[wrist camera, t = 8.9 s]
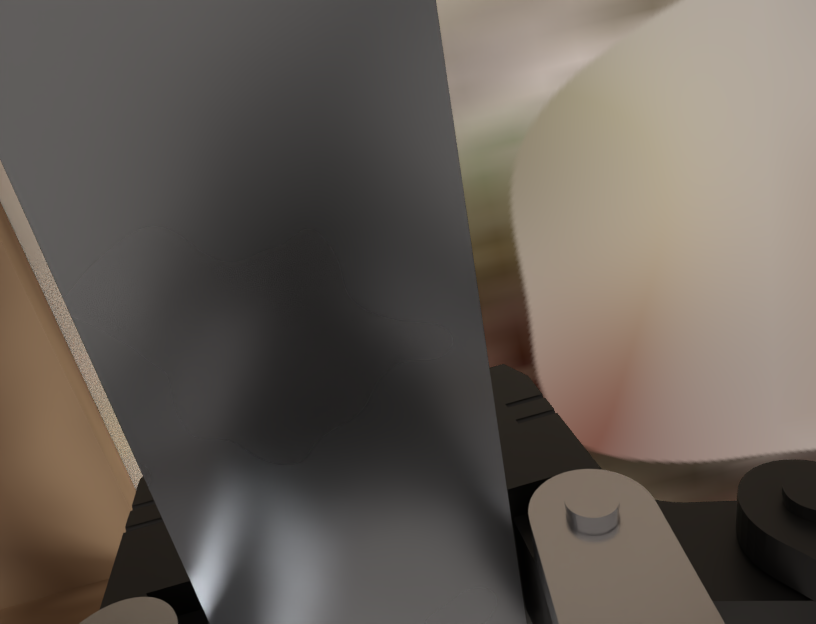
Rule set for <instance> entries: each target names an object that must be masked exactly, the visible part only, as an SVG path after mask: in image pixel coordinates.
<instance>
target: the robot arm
mask: <svg viewBox="0 0 816 624" xmlns="http://www.w3.org/2000/svg"><path fill="white" fill-rule="evenodd" d="M489 369H490V376H491V383H492V390H493V397H494V404H495V410H496V417H497V424H498V431H499V438H500V445H501V452H502V458H503V465H504V472H505V479H506V486H507V493H508V500H509V506H510V513H511V520H512V527H513V534H514V541H515V548H516V554H517V561H518V568H519V575H520V582H521V589H522V596H523V602H524V609H525V616H526V623H527V624H816V462H814V461H807V460H779V461H773V462H769V463H765V464H762V465H759V466H757V467H755V468H753V469H752V470H750V471H749V472H747V473H746V474H745V476H744V477H743V478H742V479H741V481H740V483H739V486H738V493H737V501H718V502H688V503H681V502H666V501H659V500H655V499H654V498H653V496H652V495H651V494H650V493H649V492H648V491H647V490H646V489H645V488H644V487H643V486H642V485H640V484H639V483H638V482H636V481H635V480H633V479H631V478H629V477H627V476H624V475H621V474H619V473H616V472H611V471H607V470H602V469H601V468H600V467H599V465H598V464H597V463H596V462H595V460H594V459H593V458H592V457H591V455H590V454H589V453H588V451H587V450H586V449H585V448H584V446H583V445H582V444H581V443H580V441H579V440H578V439H577V438H576V436H575V435H574V434H573V433H572V431H571V430H570V429H569V427H568V426H567V425H566V424H565V422H564V421H563V420H562V419H561V417H560V416H559V415H558V414H557V413H555V411H554V408H553V407H552V406H551V405H550V403H549V402H548V401H547V400H546V398H543V396H542V393H541V392H540V391H539V389H538V388H537V387H536V386H535V384H534V383H533V382H532V381H531V379H530V378H529V377H528V376H527V375H525V374H523V373H521V372H519V371H517V370H515V369H513V368H511V367H509V366H506V365H504V364H502V365H499V366H495V367H491V368H489ZM132 509H133V510H132V511H130V513H129V516H128V519H127V523H126V526H125V529H126V532H125V533H123V535H122V539H121V542H120V545H119V548H118V551H117V555H116V558H115V561H114V564H113V568H112V571H111V574H110V577H109V580H108V584H107V587H106V590H105V593H104V597H103V600H102V603H101V606H100V609H99V611H97V612H95V613H94V614H92V615H90V616H89V617H87V618H86V619H85V620H83V621H82V622H80V623H79V624H210V623H209V621H208V619H207V617H206V614H205V612H204V610H203V608H202V605H201V603H200V601H199V599H198V597H197V594H196V592H195V590H194V588H193V586H192V583H191V581H190V579H189V577H188V574H187V572H186V570H185V568H184V566H183V563H182V561H181V559H180V557H179V554H178V552H177V550H176V548H175V546H174V543H173V541H172V539H171V537H170V535H169V532H168V530H167V528H166V526H165V523H164V521H163V519H162V517H161V515H160V512H159V510H158V508H157V506H156V503H155V501H154V499H153V497H152V495H151V492H150V490H149V488H148V486H147V484H146V481H145V479H144V477H142V478H141V479H140V481H139V484H138V487H137V490H136V494H135V497H134V500H133V503H132Z"/></svg>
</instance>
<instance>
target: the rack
mask: <svg viewBox="0 0 816 624" xmlns="http://www.w3.org/2000/svg"><path fill="white" fill-rule="evenodd" d="M135 494H136V490H135V488H134V485H133V483H132V481H131V479H130V477H129V475H128V473H127V471H126V468H125V466H124V464H123V462H122V460H121V458H120V456H119V454H118V451H117V449H116V447H115V445H114V443H113V441H112V439H111V436H110V434H109V432H108V430H107V428H106V426H105V424H104V422H103V419H102V417H101V415H100V413H99V411H98V409H97V407H96V405H95V402H94V400H93V398H92V396H91V394H90V392H89V390H88V388H87V385H86V383H85V381H84V379H83V377H82V375H81V373H80V371H79V368H78V366H77V364H76V362H75V360H74V358H73V356H72V354H71V351H70V349H69V347H68V345H67V343H66V341H65V339H64V337H63V334H62V332H61V330H60V328H59V326H58V324H57V322H56V320H55V317H54V315H53V313H52V311H51V309H50V307H49V305H48V302H47V300H46V298H45V296H44V294H43V292H42V290H41V288H40V285H39V283H38V281H37V279H36V277H35V275H34V273H33V271H32V268H31V266H30V264H29V262H28V260H27V258H26V256H25V254H24V251H23V249H22V247H21V245H20V243H19V241H18V239H17V237H16V234H15V232H14V230H13V228H12V226H11V224H10V222H9V220H8V217H7V215H6V213H5V211H4V209H3V207H2V205H1V203H0V624H79V623H80V622H82V621H83V620H85V619H86V618H87V617H89V616H90V615H92V614H94V613H95V612H97V611H99V609H100V606H101V603H102V600H103V597H104V593H105V590H106V587H107V584H108V580H109V577H110V574H111V571H112V568H113V564H114V561H115V558H116V555H117V551H118V548H119V545H120V542H121V539H122V535H123V533H125V532H126V529H125V526H126V523H127V519H128V516H129V513H130V511H132V510H133V509H132V503H133V500H134V497H135Z"/></svg>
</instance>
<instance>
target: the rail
mask: <svg viewBox="0 0 816 624" xmlns="http://www.w3.org/2000/svg"><path fill="white" fill-rule="evenodd" d="M0 160H1V162H2V164H3V167H4V169H5V171H6V173H7V175H8V178H9V180H10V182H11V184H12V186H13V189H14V191H15V193H16V195H17V198H18V200H19V202H20V204H21V206H22V209H23V211H24V213H25V215H26V218H27V220H28V222H29V224H30V226H31V229H32V231H33V233H34V235H35V237H36V240H37V242H38V244H39V246H40V249H41V251H42V253H43V255H44V257H45V260H46V262H47V264H48V266H49V269H50V271H51V273H52V275H53V277H54V280H55V282H56V284H57V286H58V288H59V291H60V293H61V295H62V297H63V300H64V302H65V304H66V306H67V308H68V311H69V313H70V315H71V317H72V319H73V322H74V324H75V326H76V328H77V331H78V333H79V335H80V337H81V339H82V342H83V344H84V346H85V348H86V351H87V353H88V355H89V357H90V359H91V362H92V364H93V366H94V368H95V370H96V373H97V375H98V377H99V379H100V382H101V384H102V386H103V388H104V390H105V393H106V395H107V397H108V399H109V402H110V404H111V406H112V408H113V410H114V413H115V415H116V417H117V419H118V421H119V424H120V426H121V428H122V430H123V433H124V435H125V437H126V439H127V441H128V444H129V446H130V448H131V450H132V452H133V455H134V457H135V459H136V461H137V464H138V466H139V468H140V470H141V472H142V475H143V477H144V479H145V481H146V484H147V486H148V488H149V490H150V492H151V495H152V497H153V499H154V501H155V503H156V506H157V508H158V510H159V512H160V515H161V517H162V519H163V521H164V523H165V526H166V528H167V530H168V532H169V535H170V537H171V539H172V541H173V543H174V546H175V548H176V550H177V552H178V554H179V557H180V559H181V561H182V563H183V566H184V568H185V570H186V572H187V574H188V577H189V579H190V581H191V583H192V586H193V588H194V590H195V592H196V594H197V597H198V599H199V601H200V603H201V605H202V608H203V610H204V612H205V614H206V617H207V619H208V621H209V623H210V624H527V623H526V616H525V609H524V602H523V596H522V589H521V582H520V575H519V568H518V561H517V554H516V548H515V541H514V534H513V527H512V520H511V513H510V506H509V500H508V493H507V486H506V479H505V472H504V465H503V458H502V452H501V445H500V438H499V431H498V424H497V417H496V410H495V404H494V397H493V390H492V383H491V376H490V369H489V362H488V356H487V349H486V342H485V335H484V328H483V321H482V314H481V308H480V301H479V294H478V287H477V280H476V273H475V266H474V260H473V253H472V246H471V239H470V232H469V225H468V218H467V212H466V205H465V198H464V191H463V184H462V177H461V170H460V164H459V157H458V150H457V143H456V136H455V129H454V122H453V115H452V109H451V102H450V95H449V88H448V81H447V74H446V67H445V61H444V54H443V47H442V40H441V33H440V26H439V19H438V13H437V6H436V0H0Z"/></svg>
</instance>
